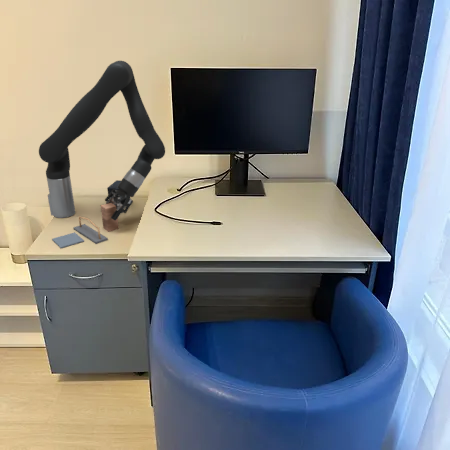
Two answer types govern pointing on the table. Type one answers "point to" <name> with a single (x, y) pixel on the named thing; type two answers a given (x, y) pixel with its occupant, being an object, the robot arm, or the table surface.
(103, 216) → the block
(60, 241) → the mat
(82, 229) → the board with wooden handle
